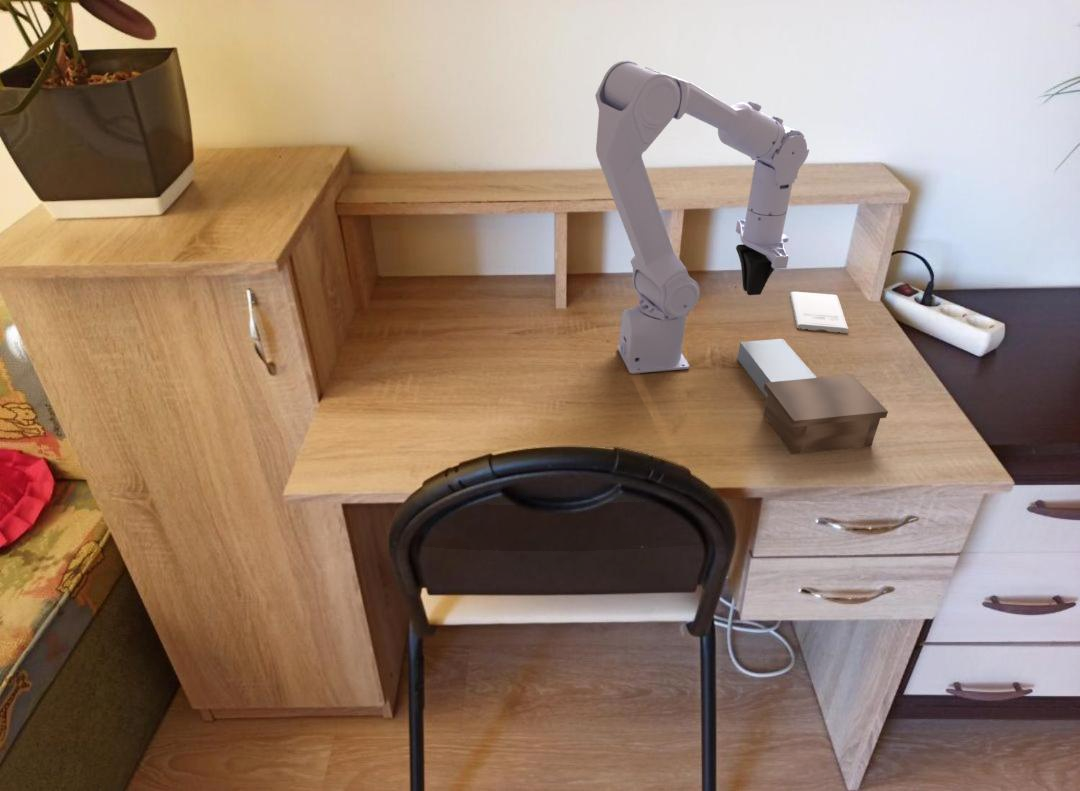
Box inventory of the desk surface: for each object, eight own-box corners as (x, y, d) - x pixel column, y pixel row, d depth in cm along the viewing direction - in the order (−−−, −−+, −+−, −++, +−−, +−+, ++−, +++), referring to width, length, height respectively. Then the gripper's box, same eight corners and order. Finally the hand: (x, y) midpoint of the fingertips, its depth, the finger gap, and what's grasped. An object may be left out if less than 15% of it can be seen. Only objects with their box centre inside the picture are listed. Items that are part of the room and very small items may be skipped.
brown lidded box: (785, 454, 99) (794, 420, 96) (757, 415, 106) (764, 382, 103) (877, 445, 101) (888, 411, 98) (843, 406, 108) (852, 374, 105)
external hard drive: (835, 303, 137) (846, 336, 126) (789, 299, 138) (796, 331, 128) (837, 294, 136) (849, 327, 126) (790, 290, 137) (798, 323, 127)
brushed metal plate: (775, 409, 108) (778, 391, 106) (737, 358, 119) (740, 342, 117) (820, 404, 109) (825, 387, 107) (779, 354, 120) (782, 338, 118)
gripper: (815, 225, 107) (796, 311, 114) (771, 191, 119) (757, 270, 126) (768, 228, 106) (752, 314, 113) (729, 193, 118) (717, 273, 125)
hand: (751, 291), depth 120 cm, fingers closed
